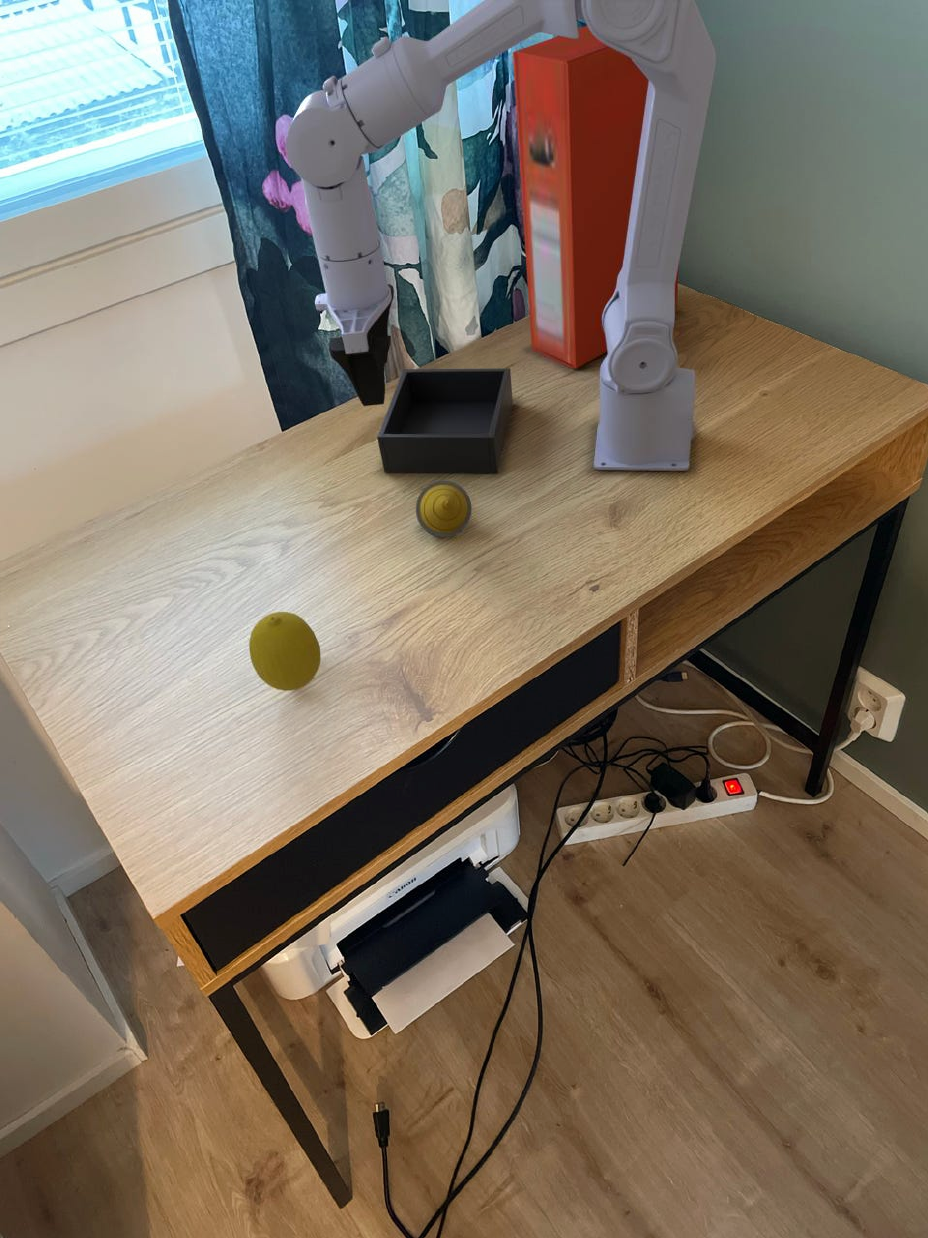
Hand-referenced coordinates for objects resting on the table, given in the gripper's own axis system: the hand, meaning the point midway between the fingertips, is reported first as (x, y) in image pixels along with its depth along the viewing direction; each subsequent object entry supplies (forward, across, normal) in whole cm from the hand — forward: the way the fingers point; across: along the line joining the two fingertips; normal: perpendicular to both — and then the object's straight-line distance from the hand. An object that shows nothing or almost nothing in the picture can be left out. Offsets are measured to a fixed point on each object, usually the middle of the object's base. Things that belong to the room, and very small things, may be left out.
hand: (375, 382), depth 89 cm
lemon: (+10, +30, -7) cm, 33 cm away
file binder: (+10, -23, +26) cm, 36 cm away
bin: (+10, -4, +6) cm, 12 cm away
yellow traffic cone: (+10, +12, +6) cm, 17 cm away
